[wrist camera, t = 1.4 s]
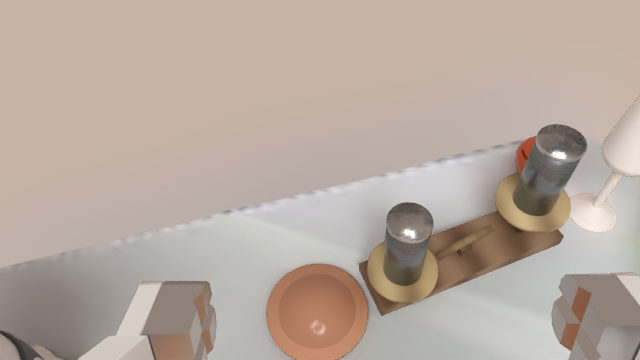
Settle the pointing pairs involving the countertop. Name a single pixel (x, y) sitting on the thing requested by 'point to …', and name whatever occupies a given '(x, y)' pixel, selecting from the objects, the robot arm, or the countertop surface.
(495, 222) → the balance
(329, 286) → the dish
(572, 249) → the countertop surface
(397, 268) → the brushed steel peg
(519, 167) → the tomato
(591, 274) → the robot arm
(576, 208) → the champagne flute
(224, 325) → the countertop surface
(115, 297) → the countertop surface
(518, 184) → the cylinder
